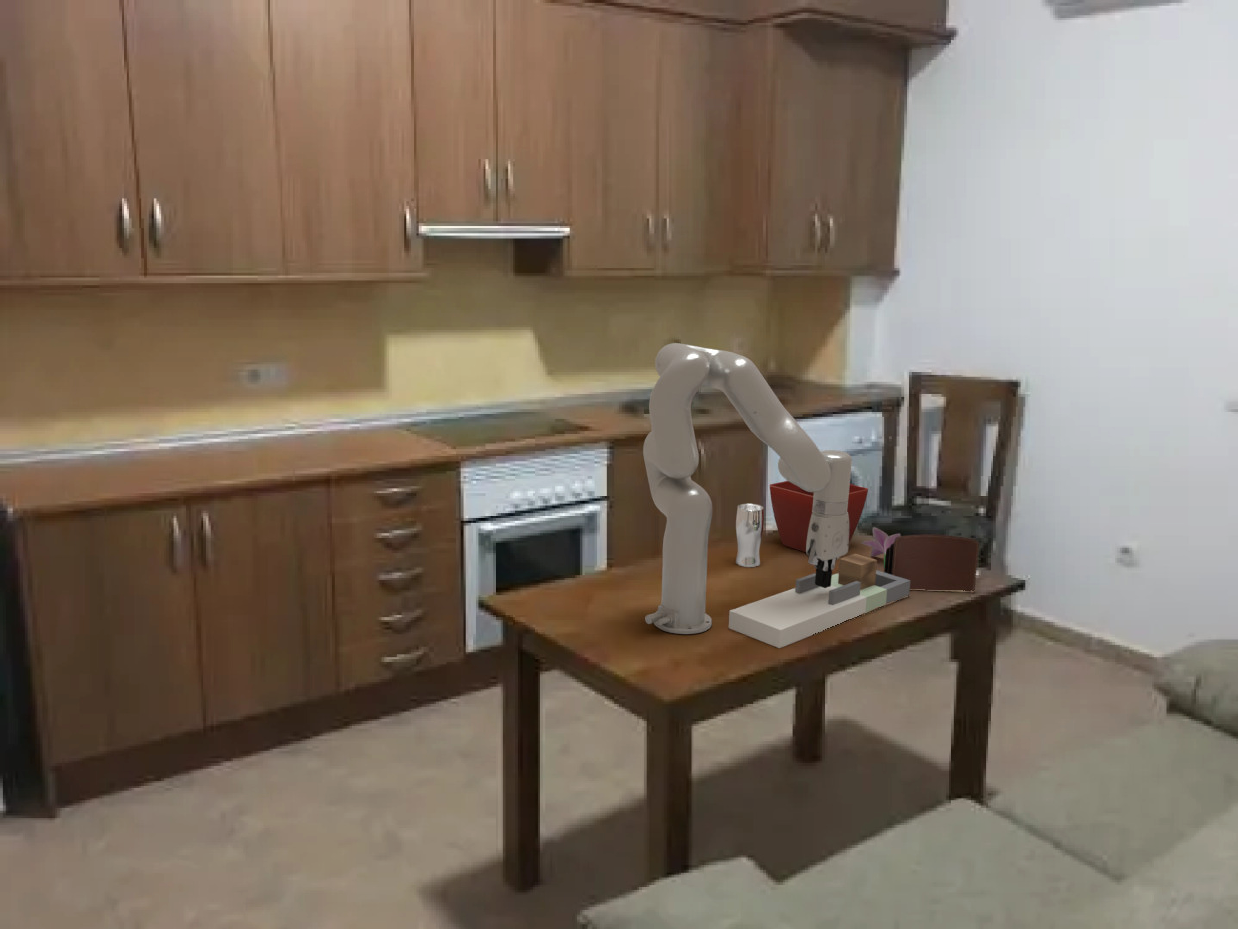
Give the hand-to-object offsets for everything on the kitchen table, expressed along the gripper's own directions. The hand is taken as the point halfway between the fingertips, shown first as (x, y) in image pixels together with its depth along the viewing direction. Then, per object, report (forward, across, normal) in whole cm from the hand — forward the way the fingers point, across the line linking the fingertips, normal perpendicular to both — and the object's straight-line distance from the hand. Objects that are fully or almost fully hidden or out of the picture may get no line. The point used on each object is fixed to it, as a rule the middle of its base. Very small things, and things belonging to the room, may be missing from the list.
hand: (822, 585), depth 235 cm
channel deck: (+6, 0, 0) cm, 6 cm away
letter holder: (+6, +35, -6) cm, 36 cm away
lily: (+6, +41, +11) cm, 43 cm away
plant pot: (+6, +38, +31) cm, 49 cm away
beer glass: (+6, +13, +33) cm, 36 cm away
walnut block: (+2, +12, -1) cm, 12 cm away
